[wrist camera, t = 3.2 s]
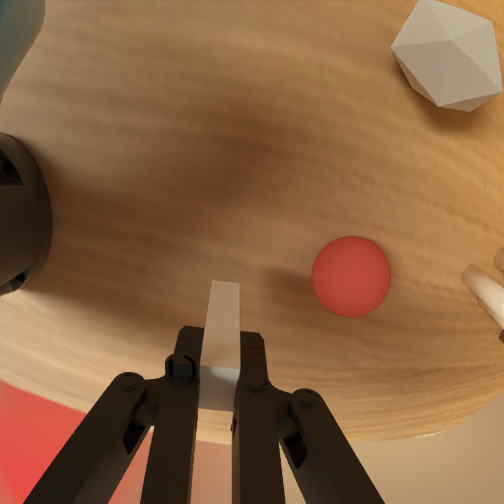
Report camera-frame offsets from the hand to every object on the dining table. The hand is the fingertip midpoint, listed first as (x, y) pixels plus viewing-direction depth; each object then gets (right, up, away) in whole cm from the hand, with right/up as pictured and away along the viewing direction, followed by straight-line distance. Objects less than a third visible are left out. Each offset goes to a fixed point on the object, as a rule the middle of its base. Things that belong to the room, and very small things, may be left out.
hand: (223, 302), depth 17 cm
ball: (+9, +1, +5) cm, 10 cm away
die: (+15, +18, +1) cm, 24 cm away
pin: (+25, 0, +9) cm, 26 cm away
